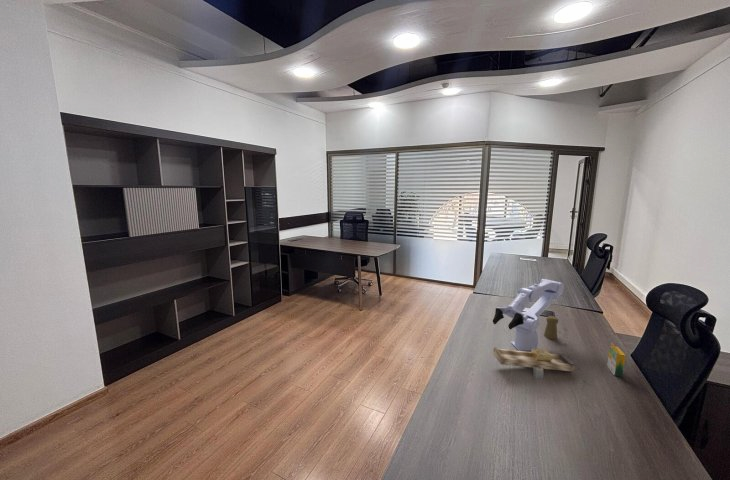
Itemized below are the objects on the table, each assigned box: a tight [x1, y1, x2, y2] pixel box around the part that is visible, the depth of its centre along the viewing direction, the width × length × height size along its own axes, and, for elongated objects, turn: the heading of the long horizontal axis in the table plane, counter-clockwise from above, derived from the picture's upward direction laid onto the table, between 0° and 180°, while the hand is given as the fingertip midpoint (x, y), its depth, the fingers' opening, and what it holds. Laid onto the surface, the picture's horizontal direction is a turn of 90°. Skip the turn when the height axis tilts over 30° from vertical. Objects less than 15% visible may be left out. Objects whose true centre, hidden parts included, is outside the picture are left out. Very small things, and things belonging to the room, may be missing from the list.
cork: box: [543, 315, 559, 340], centre depth 154 cm, size 6×6×11 cm
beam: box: [492, 346, 576, 372], centre depth 127 cm, size 31×9×4 cm, turn 89°
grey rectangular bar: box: [532, 367, 544, 379], centre depth 127 cm, size 3×14×4 cm, turn 179°
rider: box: [530, 347, 553, 362], centre depth 126 cm, size 6×5×4 cm
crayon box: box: [606, 342, 626, 378], centre depth 124 cm, size 7×3×12 cm, turn 160°
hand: (501, 325), depth 131 cm, fingers open, 7 cm apart
